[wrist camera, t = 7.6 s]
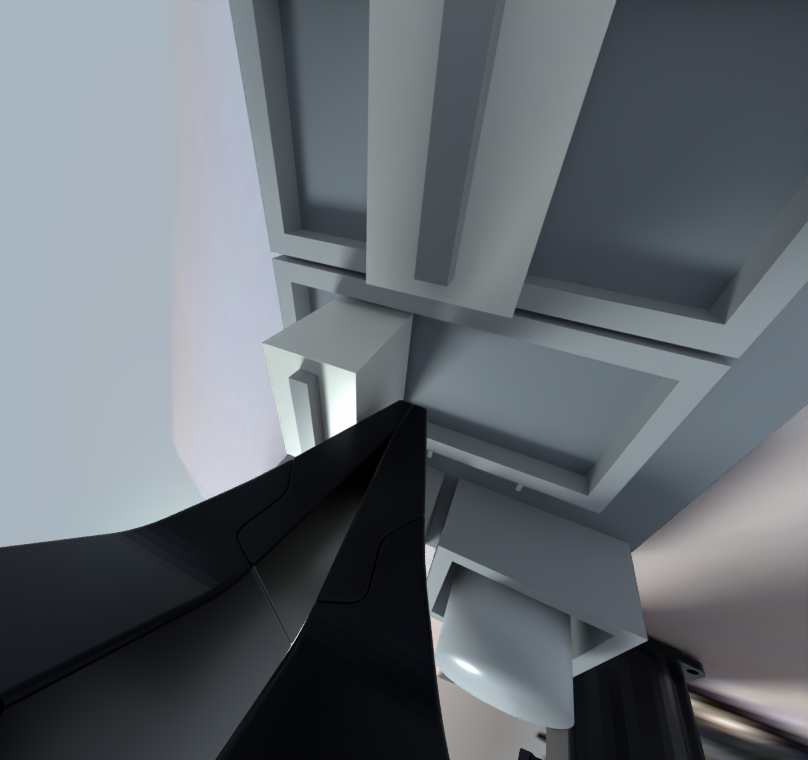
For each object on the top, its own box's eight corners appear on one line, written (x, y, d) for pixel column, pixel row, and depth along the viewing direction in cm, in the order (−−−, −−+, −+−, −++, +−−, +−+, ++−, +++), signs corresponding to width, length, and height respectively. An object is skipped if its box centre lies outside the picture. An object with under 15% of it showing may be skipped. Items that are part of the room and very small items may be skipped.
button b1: (591, 593, 11) (601, 719, 8) (545, 630, 13) (543, 734, 11) (468, 539, 12) (445, 637, 9) (448, 584, 14) (426, 669, 12)
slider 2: (609, 8, 5) (693, -233, 2) (527, 262, 7) (509, 328, 4) (459, 10, 6) (349, -168, 3) (428, 244, 8) (354, 290, 5)
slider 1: (413, 313, 9) (346, 383, 6) (402, 410, 12) (349, 494, 9) (341, 295, 10) (249, 350, 7) (344, 390, 12) (277, 462, 9)
